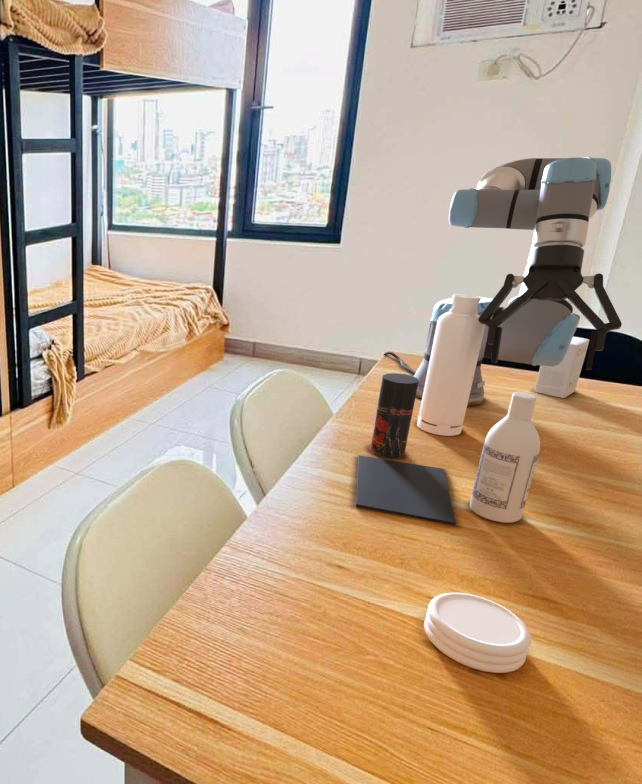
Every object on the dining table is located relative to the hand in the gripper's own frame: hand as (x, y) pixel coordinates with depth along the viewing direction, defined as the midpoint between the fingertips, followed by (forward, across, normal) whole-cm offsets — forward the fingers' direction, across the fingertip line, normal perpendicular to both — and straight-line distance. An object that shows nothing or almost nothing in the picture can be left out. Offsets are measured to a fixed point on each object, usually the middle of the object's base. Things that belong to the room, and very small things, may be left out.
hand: (539, 365), depth 113 cm
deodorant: (+20, -21, -7) cm, 30 cm away
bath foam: (+26, -2, -19) cm, 32 cm away
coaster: (+38, +1, -53) cm, 65 cm away
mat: (+25, -15, -20) cm, 35 cm away
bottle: (+14, -16, +11) cm, 24 cm away
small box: (+1, +1, +51) cm, 51 cm away
